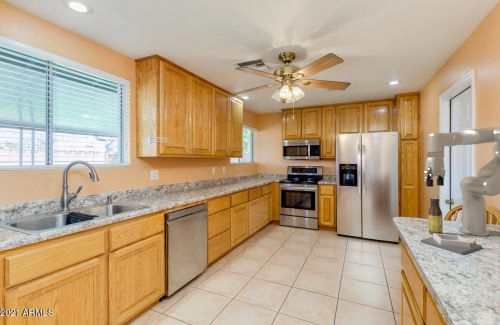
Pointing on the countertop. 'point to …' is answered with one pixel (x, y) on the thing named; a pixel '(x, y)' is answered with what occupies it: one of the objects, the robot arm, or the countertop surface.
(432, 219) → the sauce bottle
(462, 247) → the locating plate
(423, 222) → the countertop surface
